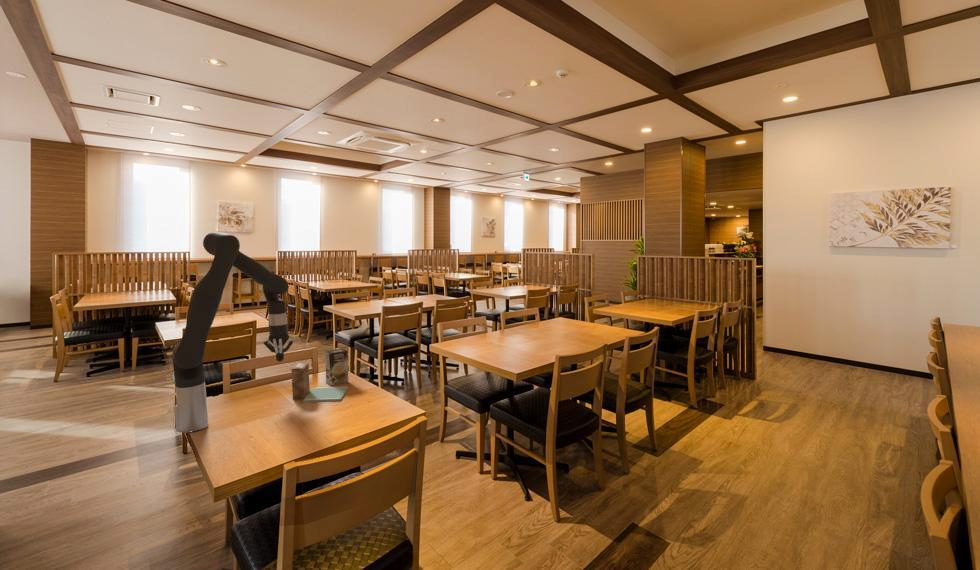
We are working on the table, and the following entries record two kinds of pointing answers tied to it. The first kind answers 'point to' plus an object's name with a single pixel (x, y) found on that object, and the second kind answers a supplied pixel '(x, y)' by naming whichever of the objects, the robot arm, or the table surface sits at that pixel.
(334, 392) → the mat
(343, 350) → the coffee box
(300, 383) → the walnut block
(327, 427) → the table surface
